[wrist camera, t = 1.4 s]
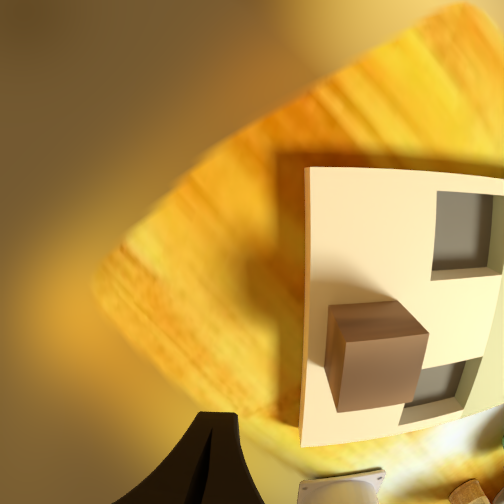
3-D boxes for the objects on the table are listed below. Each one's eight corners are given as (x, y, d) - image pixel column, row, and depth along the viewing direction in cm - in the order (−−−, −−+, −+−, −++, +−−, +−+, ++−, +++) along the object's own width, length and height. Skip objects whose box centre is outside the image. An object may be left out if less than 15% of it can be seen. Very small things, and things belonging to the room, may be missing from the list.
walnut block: (388, 361, 17) (412, 401, 13) (323, 368, 17) (336, 412, 13) (397, 300, 16) (429, 333, 12) (328, 305, 16) (346, 342, 12)
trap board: (505, 386, 20) (524, 407, 17) (298, 428, 21) (302, 462, 18) (547, 186, 16) (577, 191, 13) (304, 167, 17) (314, 166, 13)
